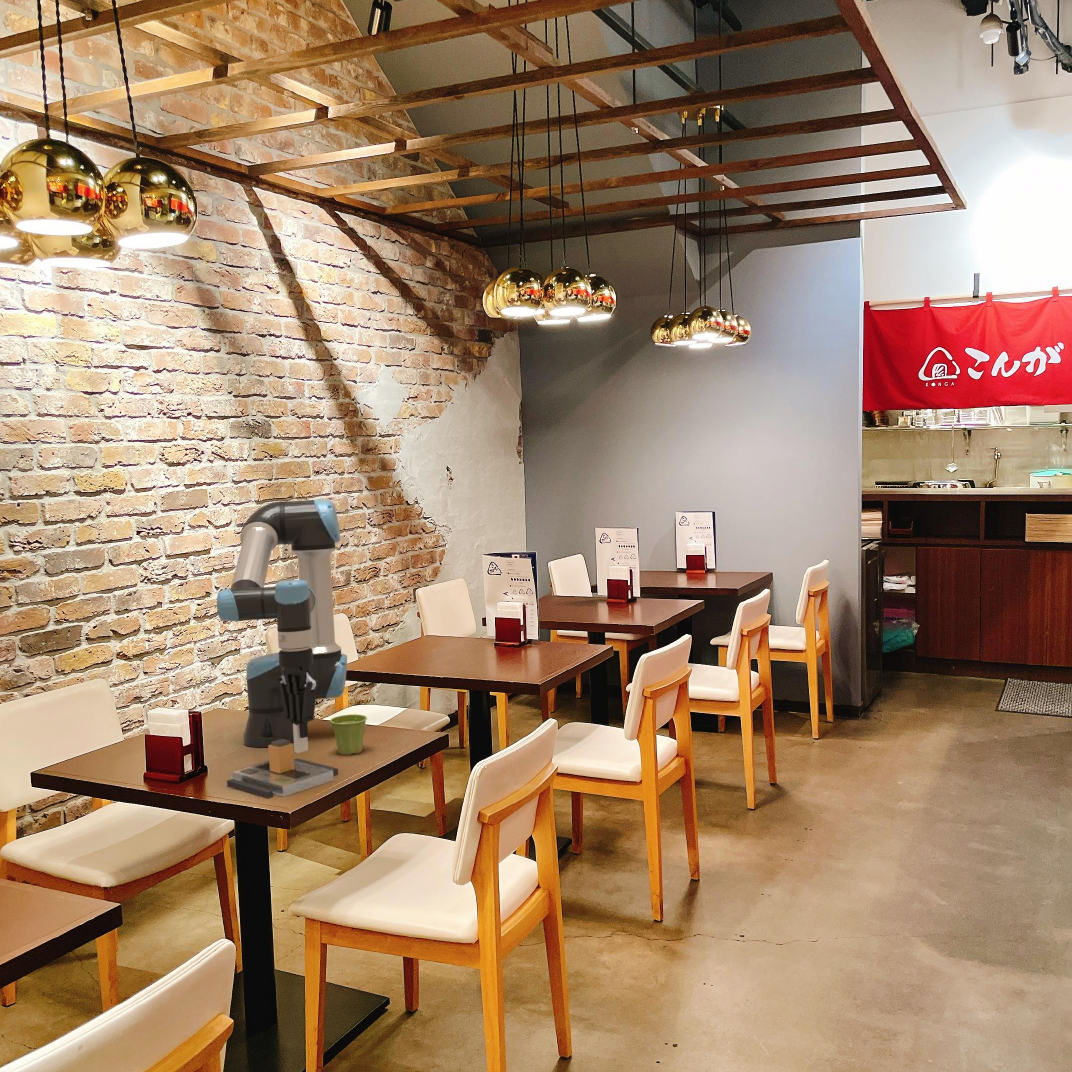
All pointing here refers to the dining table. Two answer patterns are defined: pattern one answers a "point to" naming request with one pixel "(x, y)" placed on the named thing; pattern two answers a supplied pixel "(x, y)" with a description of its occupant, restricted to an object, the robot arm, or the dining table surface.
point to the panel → (284, 777)
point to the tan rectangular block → (281, 756)
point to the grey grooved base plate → (266, 792)
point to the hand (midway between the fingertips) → (301, 751)
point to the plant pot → (349, 733)
